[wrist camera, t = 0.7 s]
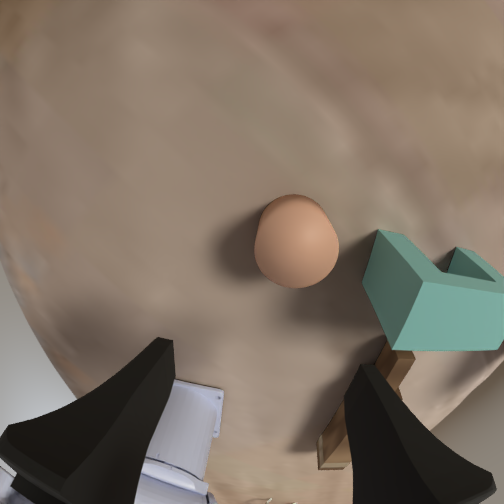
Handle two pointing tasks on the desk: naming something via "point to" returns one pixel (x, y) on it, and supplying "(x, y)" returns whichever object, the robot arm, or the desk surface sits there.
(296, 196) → the bead
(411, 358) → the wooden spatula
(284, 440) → the desk surface
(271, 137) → the desk surface
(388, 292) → the teal angular block
